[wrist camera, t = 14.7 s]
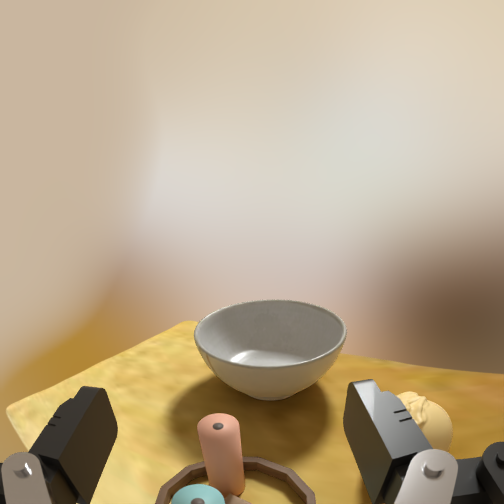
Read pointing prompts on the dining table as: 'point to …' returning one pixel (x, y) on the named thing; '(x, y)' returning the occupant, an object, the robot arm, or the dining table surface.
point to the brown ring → (248, 464)
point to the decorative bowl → (270, 345)
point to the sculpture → (429, 420)
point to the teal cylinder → (198, 495)
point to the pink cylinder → (222, 453)
